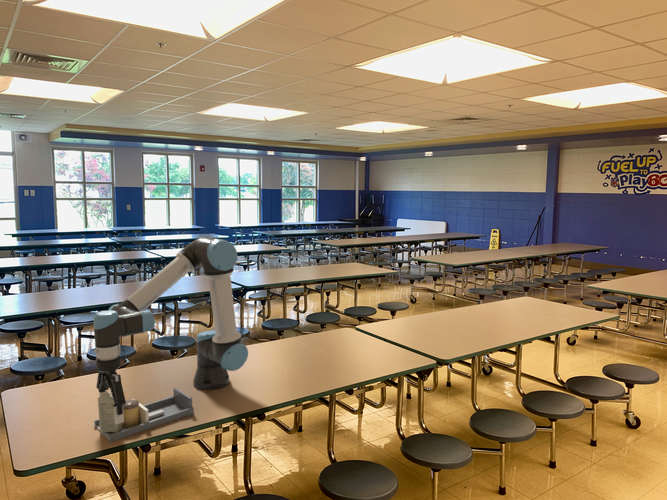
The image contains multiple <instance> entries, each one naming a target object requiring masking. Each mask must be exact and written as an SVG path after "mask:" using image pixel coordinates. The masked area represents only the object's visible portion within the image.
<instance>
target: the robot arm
mask: <svg viewBox="0 0 667 500" xmlns="http://www.w3.org/2000/svg"><path fill="white" fill-rule="evenodd" d="M237 261H238V252H237V249H236V247H235V245H234V244H233V243H232V242H230V241H228V240H225V239H222V238H213V237H206V236H204V237H200V238H197V239H195V240H193V241H192V242H190V243H189V244H187V245H186V246H185V247H183V248H182V249H181V250H180V251H179V252H177V253H176V256H175V258H174V259H173V260H172V261H170V262H169V263H168V264H167V265H165V266H164V267H163V268H162V269H161V270H160V271H158V272H157V273H156V274H155V275H154V276H152V277H151V278H150V279H149V280H148V281H146V283H144V284H143V285H141V286H140V287H139V288H138V289H137V290H136V291H134V292H133V293H132V294H131V295H129V297H127V298H126V299H125V300H123V301H122V302H121V303H117V304H112V305H111V306H110V307H108V310H101V311H98V312H96V313H95V314H94V315H93V334H94V335H93V336H94V345H95V349H94V350H93V353H94V354H95V358H96V359H95V363H96V364H95V365H96V370H97V371H98V372H97V373H98V374H97V379H96V381H97V382H96V389H97V390H98V392H99V397H100V396H101V395H102V394H105V393H109V390H110V393H112V397H113V400H114V403H115V404H114V405H113V407H114V417H115V424H119V423H122V422H124V413H123V405H124V404H126V398H125V397H126V396H125V392H124V388H123V385H122V378H121V376H122V375H121V374H120V373H119V374H118V372H117V370H118V369H119V368H121V365H122V359H121V344H120V343H121V341H120V338H123V337H128V336H134V335H138V334H142V333H143V334H144V333H147V332H151V331H153V330H154V328H155V325H156V323H155V322H156V320H155V316H154V313H153V312H152V311H151V310H146V309H147V308H148V307H150V306H151V305H152V304H153V303H154V302H155V301H157V300H158V299H159V298H160V297H161V296H163V295H164V293H166V292H168V291H169V289H171V288H172V287H173V286H175V285H176V283H179V282H178V281H180V280H181V279H182V278H183V277H185V276H186V275H187V274H188V273H189V272H195V271H196V270H197V269H198V268H200V267H202V271H203V275H204V276H205V277H206V278H208V286H209V295H210V300H211V301H210V303H211V309H212V317H213V326H214V329H211V330H205V331H202V332H199V333H198V334H197V335H196V341H195V342H196V361H197V362H196V364H197V366H196V371H195V374H194V376H193V381H192V382H193V386H194V387H195V388H196V389H199V390H205V391H208V390H218V389H221V388H224V387H226V386H228V384H229V383H230V375H229V372H235V371H238V370H239V369H241V368H242V367H243V366H244V365H245V363H246V362H247V360H248V358H249V349H248V347H247V346H246V344H243V341H242V334H241V333H240V332H238V330H237V322H236V314H235V305H234V295H233V288H232V278H231V275H232V274H233V273H234V270H235V269H234V267H235V265H236V263H237ZM228 371H229V372H228ZM99 397H98V398H99Z"/></svg>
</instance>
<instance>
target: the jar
mask: <svg viewBox="0 0 667 500" xmlns="http://www.w3.org/2000/svg"><path fill="white" fill-rule="evenodd" d="M125 401H126V404H124V405H123V413H124V422H122V423H123V426H122V428H130V427H133V426H136V425H139V403H140V402H139V401H140V400H138V399H135V400H131V399H127V400H126V399H125Z"/></svg>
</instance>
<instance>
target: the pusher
mask: <svg viewBox="0 0 667 500" xmlns="http://www.w3.org/2000/svg"><path fill="white" fill-rule="evenodd" d="M130 400H136V399H135V398H133V399H132V398H131V399H130ZM143 405H144V404H142V403H140V402H139V421H140V422H141V423H145V422H148V421H149V419H151V418H154V417H157V416H160V415H163V414H164V411H163V410H162V409H161V410H158V411H155V412H152V413H149V410H148V409H147V408H145V407H144V406H143Z"/></svg>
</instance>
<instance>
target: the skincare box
mask: <svg viewBox="0 0 667 500" xmlns="http://www.w3.org/2000/svg"><path fill="white" fill-rule="evenodd" d="M97 403H98V404H97V407H98V419H99V424H100V431H99V432H100V433H101V432H118V431H119V430H120V429H121V428H122V426H123V423H119V424H115V417H114V407H113V405H114V404H115V403H114V400H113V397H112V393H111V392H110V393H109V392H108V393H105V394H102V395H101V396H100V397H97Z"/></svg>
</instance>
